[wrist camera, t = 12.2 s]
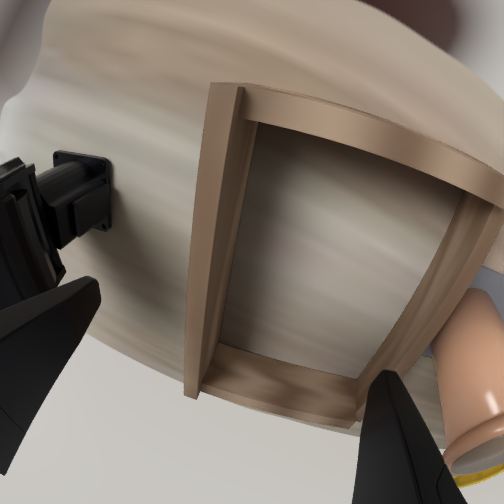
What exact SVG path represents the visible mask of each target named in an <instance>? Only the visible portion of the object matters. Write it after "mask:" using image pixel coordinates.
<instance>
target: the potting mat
mask: <svg viewBox="0 0 504 504" xmlns="http://www.w3.org/2000/svg"><path fill="white" fill-rule="evenodd" d="M468 288H479V289H482V290H484V291H486V292H487V293H488V294H489V295H490V296H491V298H492V300H493V302H494V303H495V305H496V307H497V309H498V311H499V313H500V315H501V317H502V319H503V321H504V275H503V274H501V273H498V272H496V271H493V270H491V269H488V268H486V267H483V266H481V267H480V269H479V270H478V272H477V274H476V276H475V277H474V279H473V281H472V282H471V284H470V286H469V287H468ZM421 356H426V357H431V358H432V354H431V349H430V345H428V347H427V348H426V349H425V350H424V352H423V353H422V354H421Z"/></svg>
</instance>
